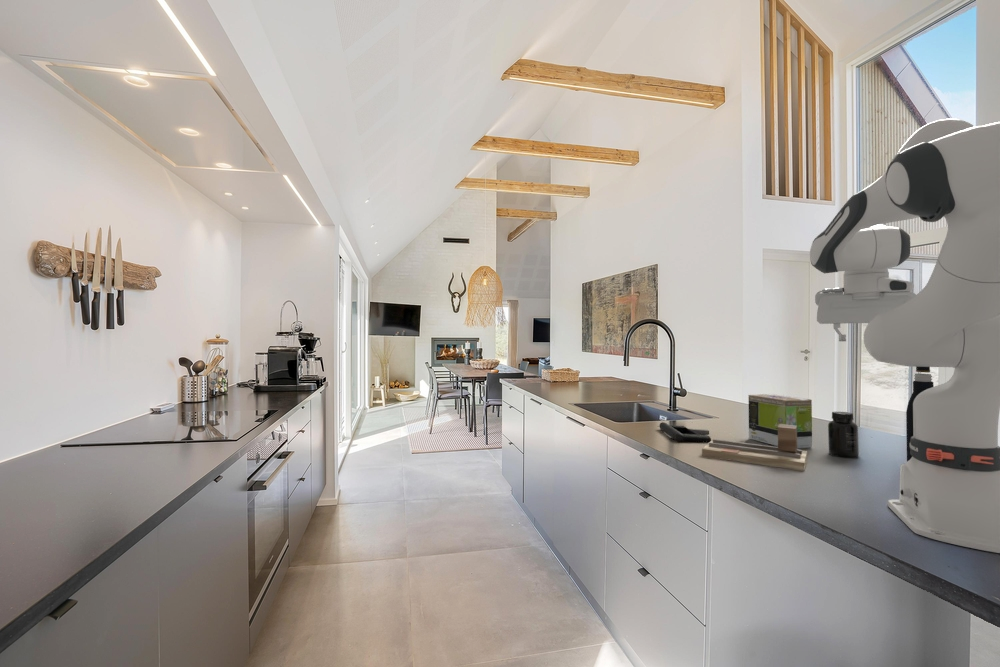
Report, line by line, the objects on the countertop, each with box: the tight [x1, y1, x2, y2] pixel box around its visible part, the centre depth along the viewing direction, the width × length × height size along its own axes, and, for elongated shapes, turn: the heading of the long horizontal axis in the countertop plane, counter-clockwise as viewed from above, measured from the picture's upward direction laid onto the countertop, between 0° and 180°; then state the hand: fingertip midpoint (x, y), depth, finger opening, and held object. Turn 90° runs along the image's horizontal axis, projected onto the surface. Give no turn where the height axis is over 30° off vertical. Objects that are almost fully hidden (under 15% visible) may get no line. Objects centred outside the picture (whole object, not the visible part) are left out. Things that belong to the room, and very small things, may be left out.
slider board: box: [701, 438, 808, 472], centre depth 125 cm, size 14×24×3 cm, turn 53°
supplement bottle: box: [827, 411, 860, 459], centre depth 126 cm, size 7×7×12 cm
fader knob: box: [777, 424, 798, 453], centre depth 120 cm, size 5×4×7 cm
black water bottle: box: [905, 367, 935, 462], centre depth 112 cm, size 6×6×30 cm
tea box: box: [748, 393, 813, 449], centre depth 141 cm, size 15×10×15 cm
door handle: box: [657, 421, 712, 444], centre depth 151 cm, size 3×20×16 cm
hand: (866, 341), depth 112 cm, fingers open, 8 cm apart
